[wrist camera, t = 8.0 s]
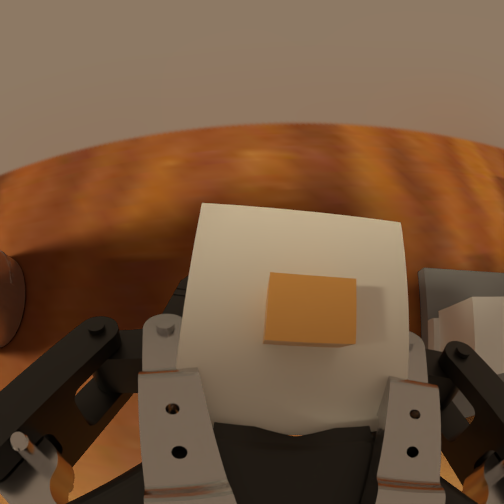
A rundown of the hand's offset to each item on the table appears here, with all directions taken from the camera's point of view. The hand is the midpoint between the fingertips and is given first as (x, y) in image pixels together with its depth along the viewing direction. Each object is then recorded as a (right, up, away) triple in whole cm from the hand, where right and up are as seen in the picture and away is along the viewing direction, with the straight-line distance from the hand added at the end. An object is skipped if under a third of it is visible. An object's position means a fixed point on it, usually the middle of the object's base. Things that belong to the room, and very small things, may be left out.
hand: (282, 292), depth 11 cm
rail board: (+20, -6, +6) cm, 22 cm away
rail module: (0, -3, +4) cm, 5 cm away
